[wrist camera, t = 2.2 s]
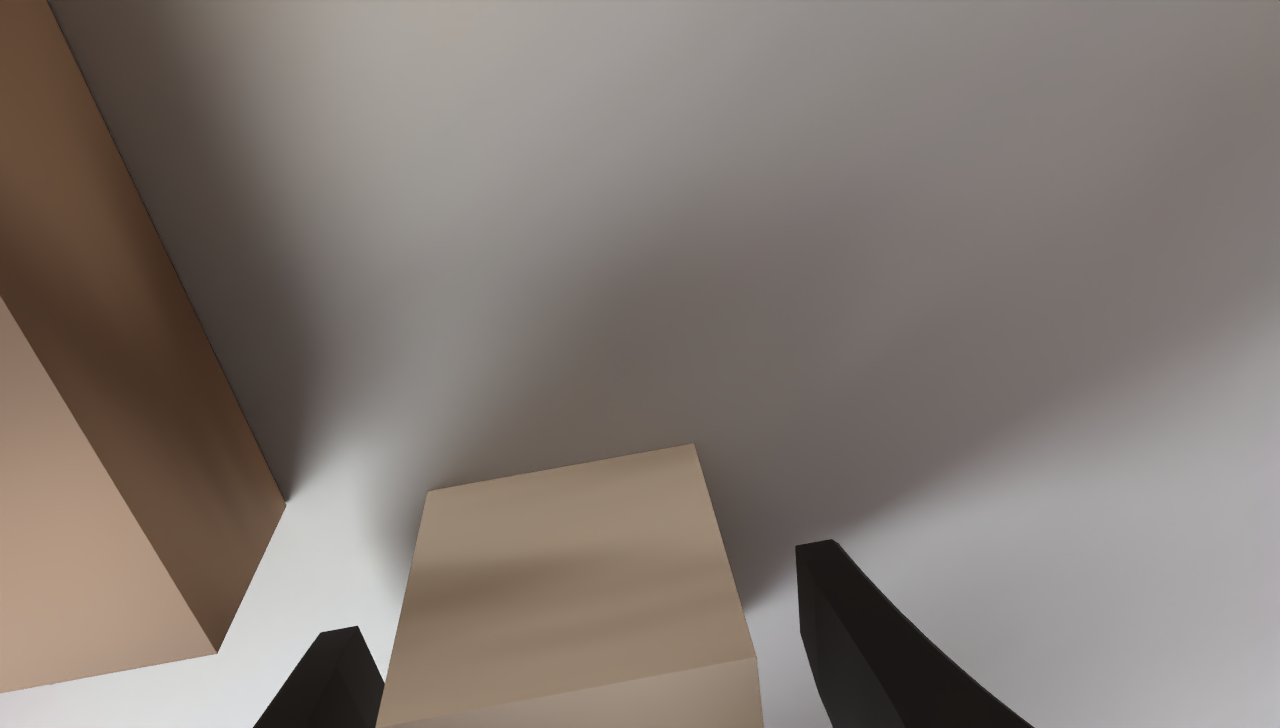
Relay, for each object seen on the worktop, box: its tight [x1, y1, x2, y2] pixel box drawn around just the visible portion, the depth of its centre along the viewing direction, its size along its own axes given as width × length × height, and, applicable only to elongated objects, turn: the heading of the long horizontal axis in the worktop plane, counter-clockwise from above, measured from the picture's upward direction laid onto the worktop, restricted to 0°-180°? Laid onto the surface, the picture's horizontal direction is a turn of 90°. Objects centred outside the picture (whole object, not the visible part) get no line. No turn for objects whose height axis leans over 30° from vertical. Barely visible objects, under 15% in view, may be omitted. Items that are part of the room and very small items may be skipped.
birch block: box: [375, 443, 764, 728], centre depth 12 cm, size 4×4×4 cm
